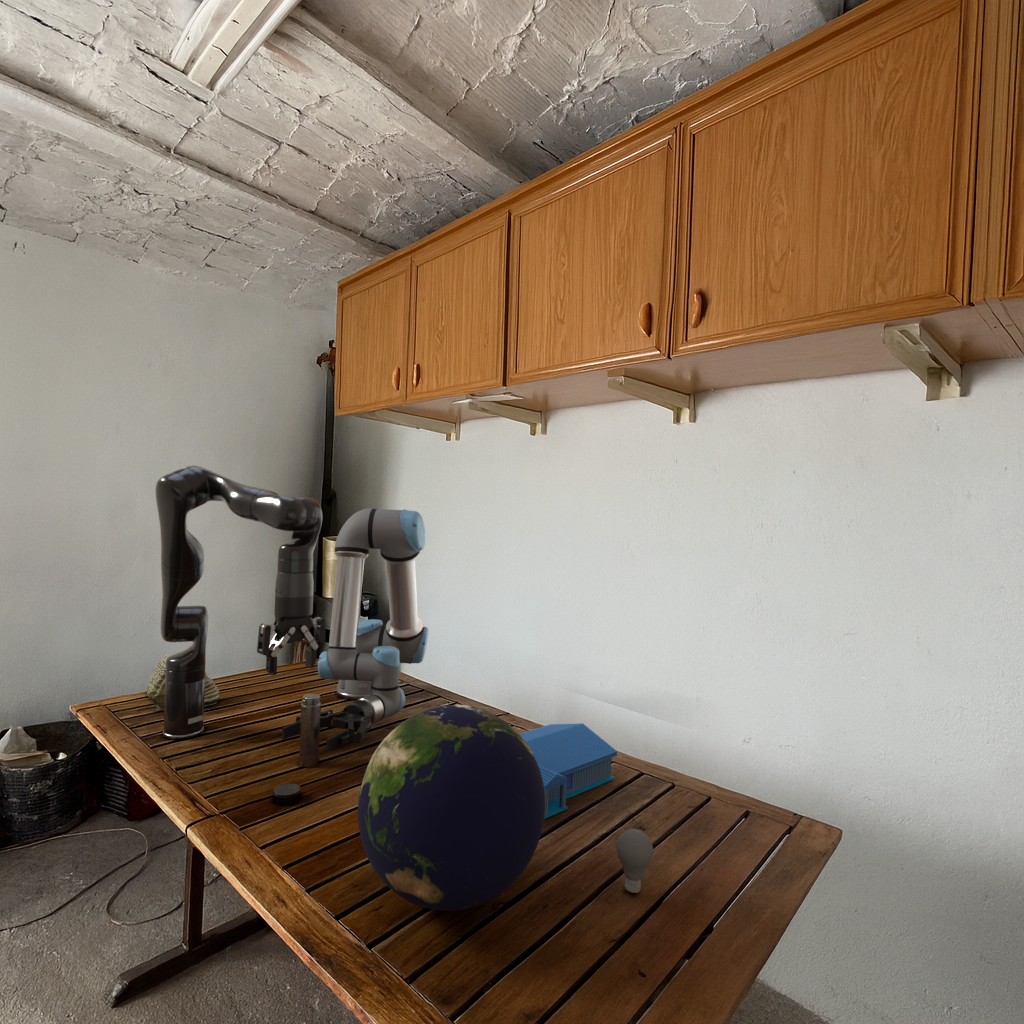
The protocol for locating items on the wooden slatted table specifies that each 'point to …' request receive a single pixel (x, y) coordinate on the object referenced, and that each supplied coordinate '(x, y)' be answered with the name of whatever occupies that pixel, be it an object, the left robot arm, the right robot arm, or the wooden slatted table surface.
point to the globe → (451, 807)
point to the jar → (310, 730)
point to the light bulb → (634, 857)
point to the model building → (569, 761)
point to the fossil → (158, 687)
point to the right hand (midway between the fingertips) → (304, 739)
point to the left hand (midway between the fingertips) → (291, 670)
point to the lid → (286, 794)
